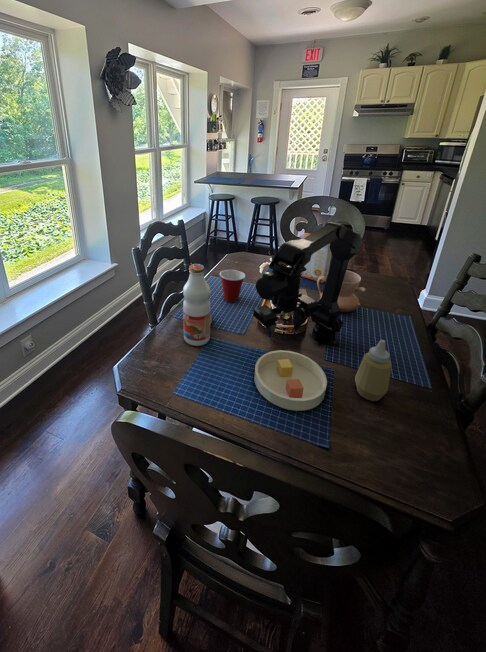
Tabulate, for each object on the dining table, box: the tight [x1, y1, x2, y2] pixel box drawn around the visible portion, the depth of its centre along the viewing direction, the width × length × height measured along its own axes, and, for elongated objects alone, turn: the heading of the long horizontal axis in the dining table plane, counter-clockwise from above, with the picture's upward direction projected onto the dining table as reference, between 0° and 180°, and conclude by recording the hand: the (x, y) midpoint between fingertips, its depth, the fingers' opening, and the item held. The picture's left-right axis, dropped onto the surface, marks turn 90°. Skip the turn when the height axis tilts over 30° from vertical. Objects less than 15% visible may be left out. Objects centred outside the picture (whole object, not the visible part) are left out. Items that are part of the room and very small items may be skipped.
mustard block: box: [277, 359, 293, 377], centre depth 96 cm, size 4×4×4 cm
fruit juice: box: [182, 263, 212, 347], centre depth 108 cm, size 9×9×28 cm
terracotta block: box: [286, 379, 304, 398], centre depth 89 cm, size 4×4×4 cm
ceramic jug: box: [316, 269, 366, 313], centre depth 129 cm, size 18×14×14 cm
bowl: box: [253, 349, 328, 412], centre depth 93 cm, size 20×20×4 cm
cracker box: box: [298, 232, 332, 284], centre depth 152 cm, size 14×6×21 cm, turn 46°
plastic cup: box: [219, 269, 246, 303], centre depth 136 cm, size 11×11×12 cm
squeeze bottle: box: [354, 339, 393, 402], centre depth 86 cm, size 8×8×18 cm
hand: (282, 333), depth 95 cm, fingers open, 9 cm apart
